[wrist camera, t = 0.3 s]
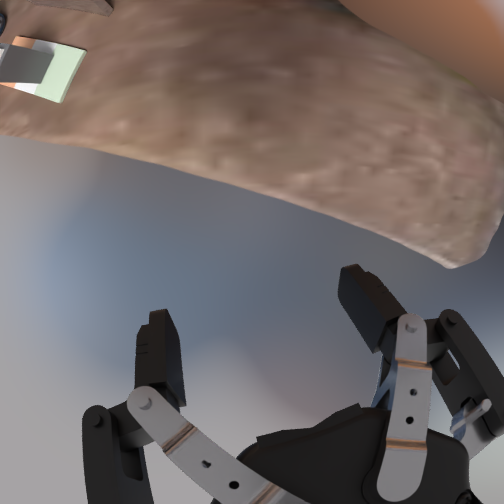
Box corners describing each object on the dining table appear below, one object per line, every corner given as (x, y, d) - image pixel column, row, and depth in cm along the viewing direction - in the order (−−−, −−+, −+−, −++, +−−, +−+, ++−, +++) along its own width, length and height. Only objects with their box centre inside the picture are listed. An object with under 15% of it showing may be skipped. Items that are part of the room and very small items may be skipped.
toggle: (54, 55, 21) (6, 43, 10) (40, 83, 22) (-11, 82, 12) (34, 50, 19) (-14, 41, 9) (22, 78, 20) (-29, 78, 10)
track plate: (87, 51, 23) (84, 50, 22) (62, 103, 26) (58, 103, 25) (19, 37, 17) (16, 36, 16) (-1, 82, 20) (-5, 82, 19)
